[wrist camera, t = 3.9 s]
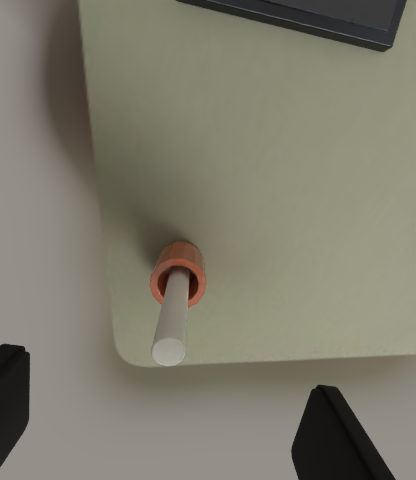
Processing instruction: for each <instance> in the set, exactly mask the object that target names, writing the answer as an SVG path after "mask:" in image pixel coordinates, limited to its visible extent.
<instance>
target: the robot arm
mask: <svg viewBox="0 0 416 480" xmlns="http://www.w3.org/2000/svg"><path fill="white" fill-rule="evenodd" d="M29 380H30V354H29V352H25V347H24V346H18V345H10V344H2V345H0V467H1V465H2V464H3V462H4V461H5V459H6V458H7V456H8V455H9V453H10V452H11V450H12V449H13V447H14V446H15V444H16V443H17V441H18V440H19V438H20V437H21V435H22V434H23V432H24V430H25V429H26V426H27V424H28V421H29V382H30V381H29ZM291 451H292V459H293V463H294V466H295V469H296V472H297V476H298V479H299V480H396V479H395V478H394V476H393V475H392V473H391V472H390V470H389V468H388V467H387V465H386V464H385V462H384V460H383V459H382V457H381V456H380V454H379V453H378V451H377V449H376V448H375V446H374V445H373V443H372V441H371V440H370V438H369V437H368V435H367V434H366V432H365V430H364V429H363V427H362V426H361V424H360V422H359V421H358V419H357V418H356V416H355V415H354V413H353V411H352V410H351V408H350V407H349V405H348V404H347V402H346V400H345V399H344V397H343V395H342V394H341V392H340V391H339V390H338V388H336V387H333V386H325V385H318V386H317V387H316V389H312V391H311V393H310V396H309V399H308V402H307V405H306V408H305V411H304V413H303V416H302V419H301V422H300V425H299V428H298V431H297V433H296V436H295V439H294V442H293V445H292V450H291Z"/></svg>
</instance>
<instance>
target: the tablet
mask: <svg viewBox="0 0 416 480" xmlns="http://www.w3.org/2000/svg"><path fill="white" fill-rule="evenodd" d="M177 1H180V2H184V3H188V4H192V5H196V6H200V7H204V8H208V9H212V10H216V11H220V12H224V13H229V14H233V15H237V16H241V17H245V18H249V19H253V20H257V21H261V22H265V23H269V24H273V25H277V26H281V27H285V28H289V29H293V30H297V31H301V32H305V33H309V34H313V35H317V36H321V37H325V38H329V39H333V40H337V41H341V42H345V43H349V44H353V45H357V46H361V47H365V48H369V49H373V50H377V51H381V52H385V51H387V50H388V49H390V48H391V47H392V46H393V42H394V39H395V36H396V33H397V30H398V27H399V23H400V20H401V17H402V14H403V11H404V8H405V4H406V1H407V0H177Z"/></svg>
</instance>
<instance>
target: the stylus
mask: <svg viewBox="0 0 416 480" xmlns="http://www.w3.org/2000/svg"><path fill="white" fill-rule="evenodd" d="M189 274H190V268H187V267H184V266H182V265H178V266H171V270H170V274H169V278H168V282H167V287H166V291H165V295H164V299H163V303H162V307H161V311H160V316H159V320H158V324H157V328H156V332H155V336H154V341H153V345H152V349H151V353H152V356H153V358H154V360H155V361H156V362H157V363H159V364H161V365H164V366H173V365H176V364H178V363H179V362H180V361H181V360H182V359H183V358H184V356H185V348H186V330H187V311H188V293H189Z"/></svg>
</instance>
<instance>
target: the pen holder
mask: <svg viewBox="0 0 416 480" xmlns="http://www.w3.org/2000/svg"><path fill="white" fill-rule="evenodd" d="M178 265H182V266H184V267H187V268H190V274H189V293H188V308H189V307H190V306H192V305H194V304H196V303H198V301H199V300H200V299H201V297H202V296H203V295H204V293H205V288H206V274H205V264H204V259H203V256H202V253H201V252H200V250H199V249H198V248H197V247H196V246H194V245H193V244H191V243H188V242H182V241H181V242H174V243H171V244H169V245H168V246H166V247H165V248H164V249H163V250H162V252H161V254H160V255H159V257H158V260H157V262H156V264H155V267H154V269H153V272H152V274H151V279H150V288H151V291H152V294H153V296H154V298H155V299H156V300H157V301H158V302H159V303H160V304H162V303H163V299H164V295H165V291H166V287H167V282H168V278H169V274H170V270H171V266H178Z"/></svg>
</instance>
